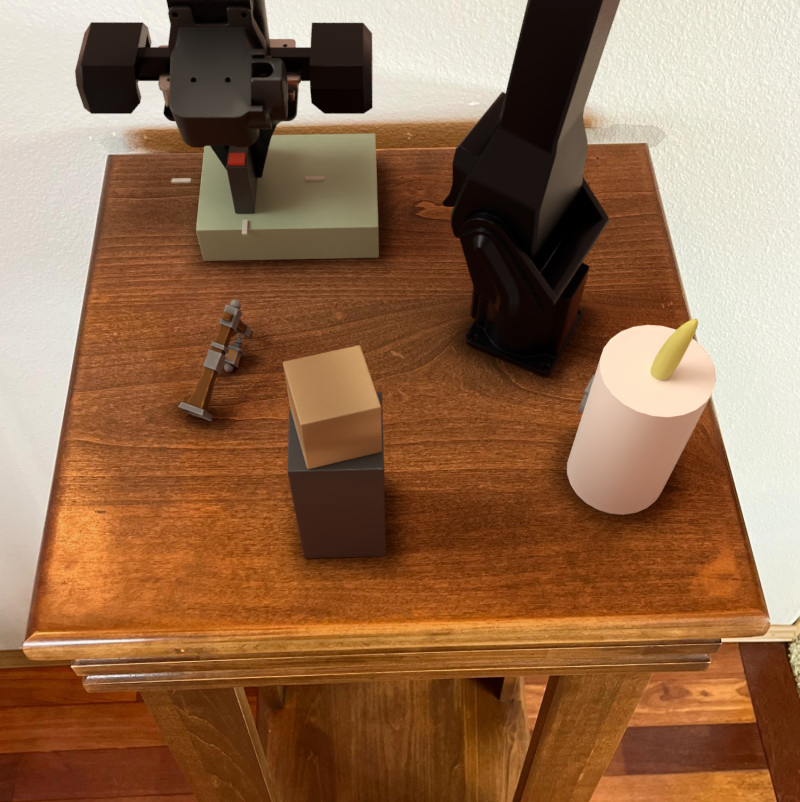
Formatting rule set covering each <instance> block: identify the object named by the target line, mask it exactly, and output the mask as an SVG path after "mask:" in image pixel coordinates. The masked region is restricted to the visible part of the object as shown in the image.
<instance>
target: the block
mask: <svg viewBox="0 0 800 802" xmlns="http://www.w3.org/2000/svg"><path fill="white" fill-rule="evenodd" d="M282 366H283V372H284V378H285V383H286V384H285V385H286V390H287V397H288V404H289V403H290V409H291V413H292V416H293V420H294V423H295V427H296V431H297V434H298V438H299V441H300V445H301V448H302V452H303V456H304V459H305V463H306V466H307V468H308V469H311V468H316V467H320V466H324V465H328V464H333V463H337V462H341V461H345V460H350V459H354V458H358V457H362V456H367V455H371V454H375V453H379V452H382V430H381V405H380V402H379V399H378V396H377V393H376V392H377V390H376V387H375V384H374V381H373V378H372V376H371V373H370V369H369V366H368V364H367V361H366V358H365V355H364V352H363V349H362V346H361V345H354V346H348V347H344V348H339V349H336V350H331V351H326V352H321V353H317V354H313V355H307V356H303V357H299V358H293V359H288V360H285V361H283V362H282Z"/></svg>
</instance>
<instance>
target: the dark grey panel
mask: <svg viewBox="0 0 800 802" xmlns="http://www.w3.org/2000/svg"><path fill="white" fill-rule="evenodd" d="M226 169H227V174H228V179H229V184H230V189H231V194H232V199H233V204H234V210H235V213H255V202H256V191H257V180H258V178H256V174H255V169H254V164H253V144H252V145H251V146H248V147H243V148H237V147H234V146H229V149H228V158H227V166H226Z"/></svg>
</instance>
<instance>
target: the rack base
mask: <svg viewBox="0 0 800 802" xmlns="http://www.w3.org/2000/svg"><path fill="white" fill-rule="evenodd" d="M376 137H377V136H376V133H321V134H320V133H317V134H316V133H315V134H314V133H313V134H273V135H272V138H271V140H270V144H269V148H268V153H267V157H266V161H265V166H264V170H263V174H262V178H258V180H257V191H256V202H255V213H235V210H234V204H233V199H232V194H231V189H230V184H229V179H228V174H227V170H226V169H225V167H224V166H223V164H222V163H221V161H220V160H219V158H218V157H217V156H216V154H215V153H214V151H213V150H212V148H211V146H205V147H203V156H202V167H201V168H202V169H201V177H200V187H199V197H198V204H197V205H198V206H197V217H196V225H195V226H196V227H195V232H196V236H197V240H198V244H199V248H200V252H201V256H202V260H203V262H223V261H225V262H226V261H227V262H228V261H229V262H231V261H274V260H280V261H281V260H328V259H378V258H379V257H380V250H379V249H380V241H379V240H380V239H379V236H380V235H379V205H378V203H379V202H378V201H379V199H378V176H377V175H378V172H377V171H378V170H377V167H378V166H377V141H376V139H377V138H376ZM170 183H171V184H191V183H192V178H191V177H185V178H184V177H179V178H178V177H177V178H176V177H175V178H171V181H170Z"/></svg>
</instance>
